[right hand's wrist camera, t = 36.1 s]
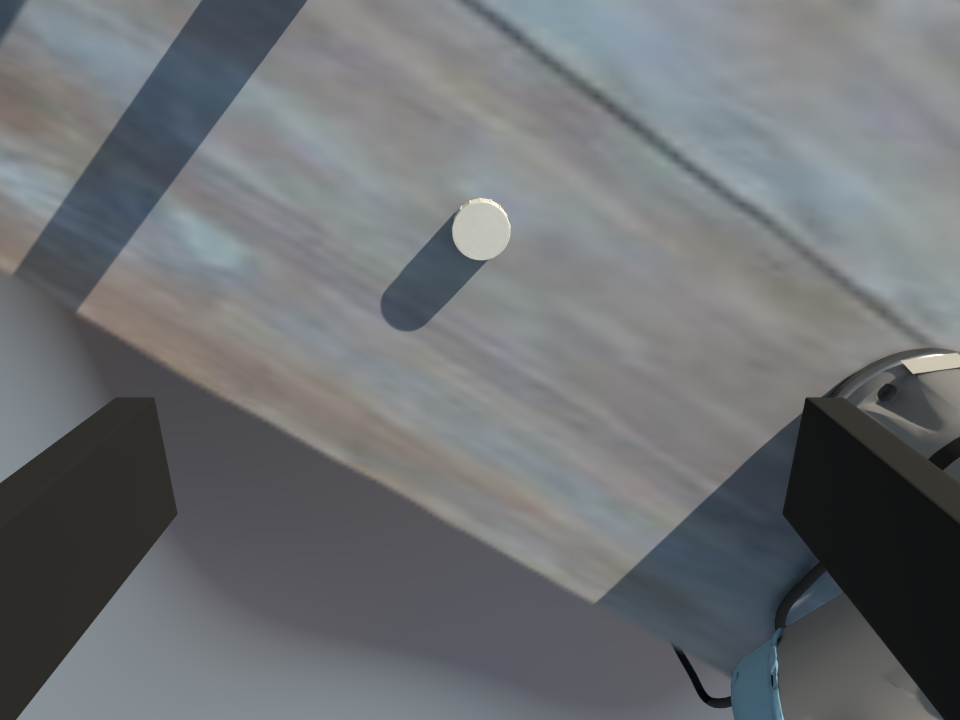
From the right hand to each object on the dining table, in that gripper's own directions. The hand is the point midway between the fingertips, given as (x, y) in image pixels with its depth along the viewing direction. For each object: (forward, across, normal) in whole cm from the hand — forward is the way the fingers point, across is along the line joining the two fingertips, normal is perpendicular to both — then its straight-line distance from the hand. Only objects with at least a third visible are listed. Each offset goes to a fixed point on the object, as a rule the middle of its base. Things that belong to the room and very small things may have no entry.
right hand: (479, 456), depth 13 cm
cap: (+30, 0, 0) cm, 30 cm away
